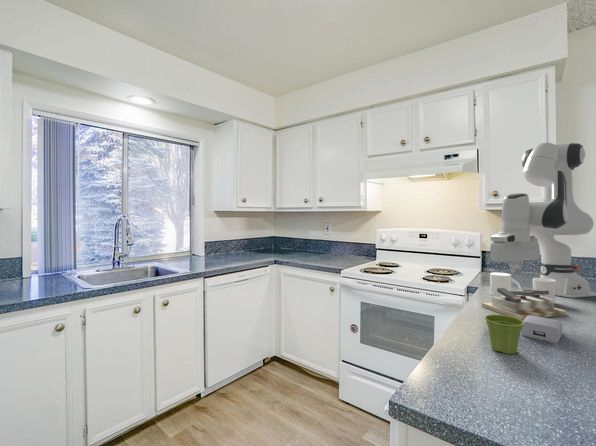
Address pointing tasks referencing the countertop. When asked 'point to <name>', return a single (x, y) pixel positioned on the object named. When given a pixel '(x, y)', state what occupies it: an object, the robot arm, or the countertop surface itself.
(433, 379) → the countertop surface
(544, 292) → the rocker
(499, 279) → the mug
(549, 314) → the switch panel
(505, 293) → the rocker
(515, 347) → the plant pot
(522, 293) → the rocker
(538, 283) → the white cup
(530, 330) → the charger
